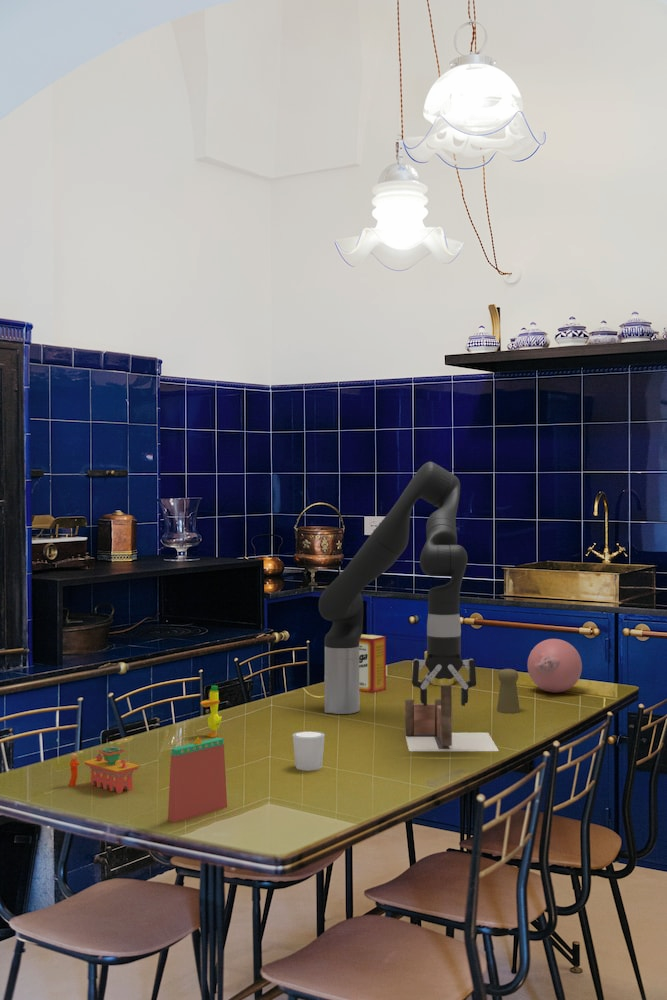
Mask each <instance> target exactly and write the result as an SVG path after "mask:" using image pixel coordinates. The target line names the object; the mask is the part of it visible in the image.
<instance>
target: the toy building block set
mask: <svg viewBox="0 0 667 1000" xmlns="http://www.w3.org/2000/svg"><path fill="white" fill-rule="evenodd" d="M224 740H225V738H222V737H213V738H210V739H205V740H201V739H200V737H199V736H197V737H196V738H195V739H194V740H193V743H189V744H185V745H180V746H176V747H171V748H170V750H171V753H169V754H170V765H169V767H170V768H169V770H170V771H169V789H168V806H167V807H168V811H167V821H168V822H171V823H173V824H176V823H178V822H182V821H186V820H188V819H189V820H190V819H193V818H196V817H200V816H202V815H205V814H209V813H213V812H216V811H219V810H222V809H226V808H228V797H227V782H226V781H227V779H226V759H225V757H226V756H225V743H224ZM97 752H98V753H99V754H97V755H96V756H95V758H93V759H87V760H84V761H82V763H84V765H86V766H87V767H89V768H90V785H91V786H97V788H102V787H103V789H104V790H109V792H116V794H122V793H123V792H124V791H123V790H124V789H125V790H126V791H127V792H129V791H132V790H133V774H134V771H137V770H138V769H139V768H140V767H141V765H139V764H136V763H132V762H129V761H127V759H126V758H122V759H119V758H120V756H121V754H123V753H124V752H125V749H123V748H118V747H116V746H115V747H114V746H111V747H106V748H102V749H98V750H97ZM101 754H102V755H101ZM78 757H79V755H78V753H75V752H74V753H71V754H70V759H71V760H70V763H69V764H70V765H69V766H70V780H69V782H68V786H70V787H76V785H77V784H76V783H77V782H76V781H77V779H78V766H79V765H80V760H78Z"/></svg>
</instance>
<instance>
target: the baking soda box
mask: <svg viewBox="0 0 667 1000" xmlns="http://www.w3.org/2000/svg"><path fill="white" fill-rule="evenodd" d="M386 638H387V637H386V636H383V635H378V634H377V635H376V634H363V633H362V635H361V637H360V640H359V691H361V692H360V693H367V692H368V693H369V694H376V693H379V692H378V691H380V692H383V691H382V690H384V691H386V690H387V683H386V682H387V677H386V676H387V675H386V674H387V669H386V667H387V661H386V658H387V655H386V654H387V652H386V651H387V650H386V647H387V646H386V644H387V642H386ZM375 692H376V693H375Z"/></svg>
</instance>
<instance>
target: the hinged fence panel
mask: <svg viewBox="0 0 667 1000" xmlns="http://www.w3.org/2000/svg"><path fill="white" fill-rule="evenodd" d="M452 689H453V686H452V685H443V686H440V699H441V705H438V706H437V736H438V737H439V739H440V741H441V745H442V746H451V745H452V733H453V732H452V731H453V704H452V703H453V700H452V699H453V697H452V695H453V694H452V693H453V690H452Z"/></svg>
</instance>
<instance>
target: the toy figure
mask: <svg viewBox="0 0 667 1000" xmlns="http://www.w3.org/2000/svg"><path fill="white" fill-rule="evenodd" d="M210 686H211V688H210V689H209V699H205V700H202V701H201V702H200V705H201V706H202V707H204V708H208V707H209V708H210V714H209V716H208V718H207V722H206V723H207V727H208V728H209V729H210V730H211V732H210V733H207V736H206V737H209V738H217V737H218V734H217V730H219V728H220V726H221V725H222V715H219V714H218V712H219V711H218V710H219V703H220V702H221V700H219V691H220V690H219V689H218V687H219V686H218V685H210Z"/></svg>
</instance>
